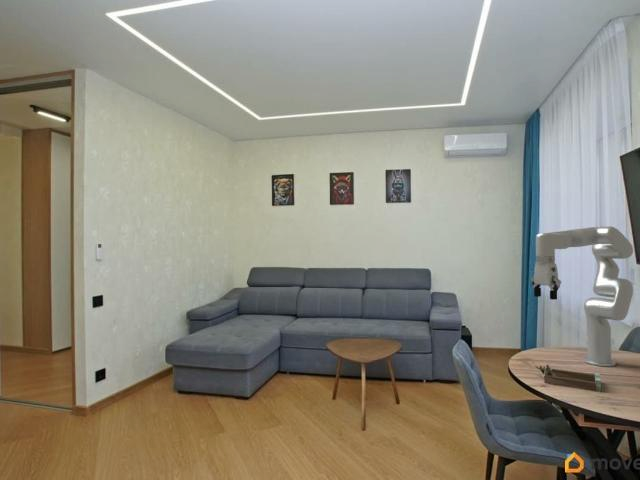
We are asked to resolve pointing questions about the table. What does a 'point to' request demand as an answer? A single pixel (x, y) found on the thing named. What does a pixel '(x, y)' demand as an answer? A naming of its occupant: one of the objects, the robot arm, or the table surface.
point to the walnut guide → (574, 379)
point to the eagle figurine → (546, 371)
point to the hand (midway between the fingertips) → (545, 297)
